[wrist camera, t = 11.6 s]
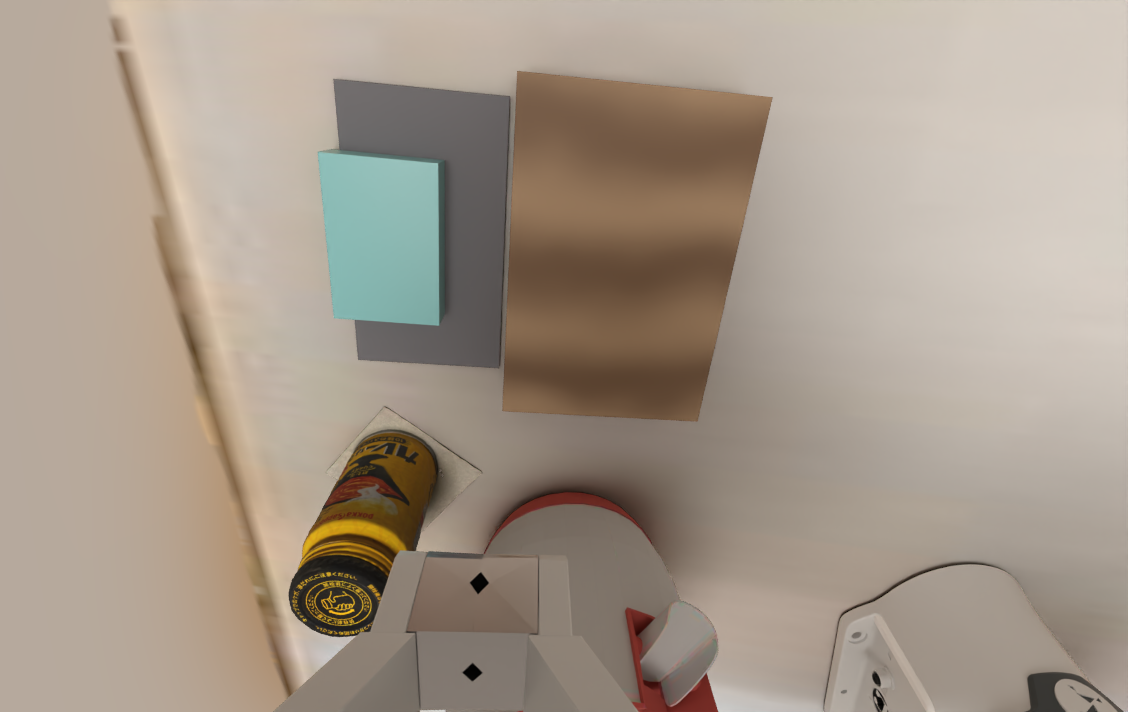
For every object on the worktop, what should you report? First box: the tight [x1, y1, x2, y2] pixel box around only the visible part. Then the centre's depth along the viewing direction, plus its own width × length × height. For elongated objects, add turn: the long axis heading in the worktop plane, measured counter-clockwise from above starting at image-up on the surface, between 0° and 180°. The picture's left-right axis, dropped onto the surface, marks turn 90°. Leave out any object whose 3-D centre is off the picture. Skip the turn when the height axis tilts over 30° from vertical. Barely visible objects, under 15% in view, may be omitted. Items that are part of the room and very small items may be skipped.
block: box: [318, 149, 445, 326], centre depth 29 cm, size 9×6×2 cm, turn 175°
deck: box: [502, 71, 772, 421], centre depth 30 cm, size 18×12×4 cm, turn 175°
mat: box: [333, 79, 510, 368], centre depth 30 cm, size 16×9×1 cm, turn 175°
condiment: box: [289, 407, 482, 637], centre depth 32 cm, size 7×8×12 cm
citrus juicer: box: [446, 492, 718, 712], centre depth 32 cm, size 16×17×20 cm
